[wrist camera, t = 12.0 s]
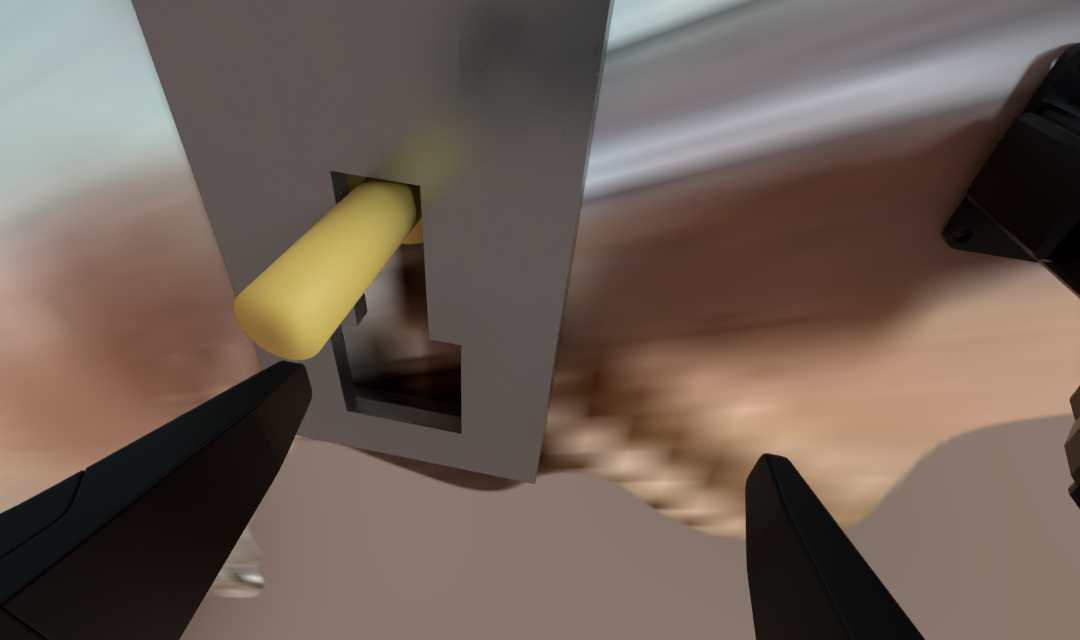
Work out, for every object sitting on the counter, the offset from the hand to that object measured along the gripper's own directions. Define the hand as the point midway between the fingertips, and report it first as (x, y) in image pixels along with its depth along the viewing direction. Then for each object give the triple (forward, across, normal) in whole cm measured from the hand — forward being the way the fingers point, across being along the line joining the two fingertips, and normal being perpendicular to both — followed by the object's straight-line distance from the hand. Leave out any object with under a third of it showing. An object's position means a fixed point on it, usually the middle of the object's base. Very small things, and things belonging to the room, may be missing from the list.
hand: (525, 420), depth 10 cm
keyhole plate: (+12, +7, +5) cm, 15 cm away
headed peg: (+12, +7, +1) cm, 14 cm away
